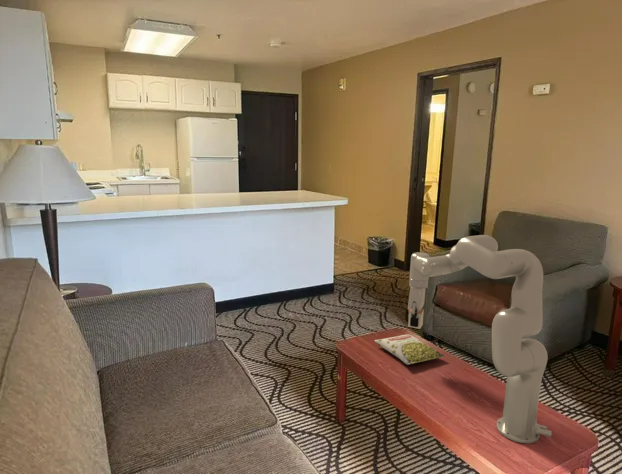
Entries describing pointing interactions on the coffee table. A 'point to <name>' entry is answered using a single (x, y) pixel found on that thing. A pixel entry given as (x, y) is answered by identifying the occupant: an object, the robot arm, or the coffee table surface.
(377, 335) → the coffee table surface
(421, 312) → the salmon block
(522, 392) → the robot arm
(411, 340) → the frozen beans
